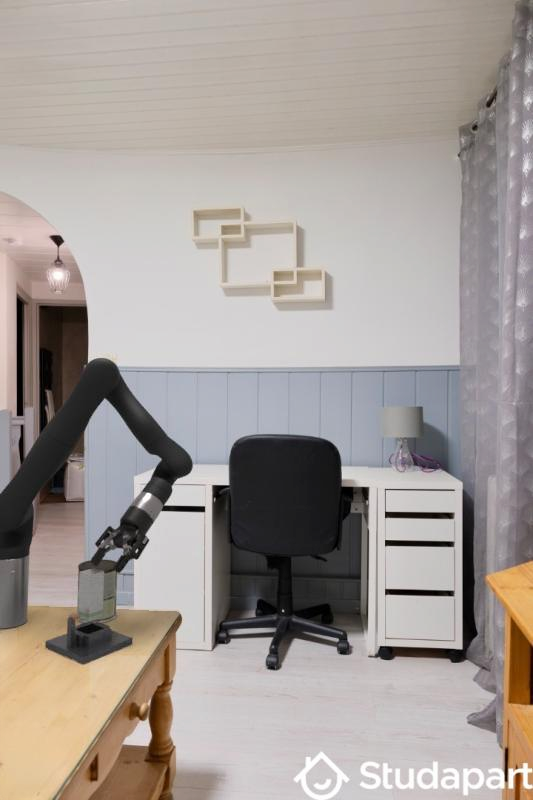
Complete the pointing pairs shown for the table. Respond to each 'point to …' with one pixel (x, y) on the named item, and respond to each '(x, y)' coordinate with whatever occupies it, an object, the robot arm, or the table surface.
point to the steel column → (91, 594)
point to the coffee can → (109, 588)
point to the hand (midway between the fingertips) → (104, 567)
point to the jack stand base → (87, 641)
